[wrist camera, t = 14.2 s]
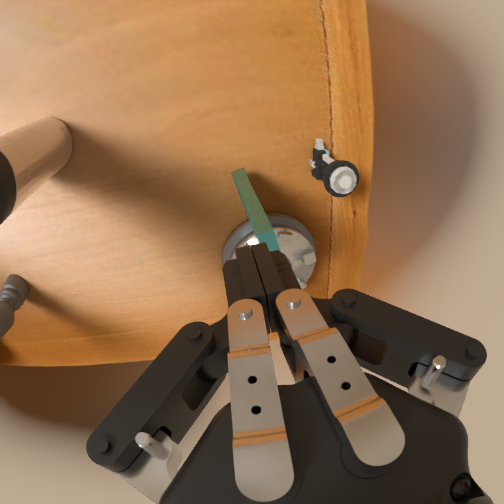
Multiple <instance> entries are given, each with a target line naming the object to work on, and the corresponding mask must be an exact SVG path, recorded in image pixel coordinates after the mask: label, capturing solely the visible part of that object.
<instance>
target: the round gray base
mask: <svg viewBox="0 0 504 504" xmlns="http://www.w3.org/2000/svg"><path fill="white" fill-rule="evenodd" d="M266 215H267V217H268V219H269V221H270V224H271V225H273V224H281V225H287V226H291V227H293V228H295V229H297V230H299V231H300V232H302V233H303V234H304V235H305V237H306V238H307V239H308V241H309V242H310V244H311V246H312V248H313V250H314V253H315V257H316V246H315V242H314V239H313V237H312V235H311V234H310V232H309V231H308V229H307V228H306V226H305V225H304V224H303V223H302V222H300V221H299V220H298V219H296V218H294V217H292V216H290V215H287V214H283V213H266ZM251 231H253V228H252V226H251V223H250V220H249V219H248V220H246V221H244V222H243V223H241V224H240V225H239V226H238V227H236V228H235V229H234V230H233V232H232V233H231V234H230V235H229V237H228V238H227V240H226V242H225V245H224V248H223V253H222V261H223V266H224V264H225V261H227V260H230V256H231V253H232V251H233V249H234V247H235V246H236V244H237V243H238V242H239V241H240V240H241V239H242V238H243V237H244V236H245V235H246V234H248V233H249V232H251Z"/></svg>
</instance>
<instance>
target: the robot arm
mask: <svg viewBox="0 0 504 504" xmlns="http://www.w3.org/2000/svg"><path fill="white" fill-rule="evenodd" d="M72 148H73V141H72V136H71V133H70V131H69V129H68V127H67V126H66V125H65V124H64V123H63V122H62V121H60V120H59V119H56V118H45V119H42V120H39V121H37V122H34V123H31V124H29V125H26V126H24V127H21V128H19V129H16V130H14V131H12V132H9V133H7V134H5V135H3V136H1V137H0V224H2V223H3V222H4V220H5V219H6V218H7V217H8V216H9V215H10V214H11V213H12V212H13V211H14V210H15V209H16V208H17V207H18V206H19V205H20V204H21V203H22V202H24V201H25V200H26V199H27V198H28V197H29V196H30V195H31V194H32V193H33V192H34V191H36V190H37V189H38V188H39V187H40V186H41V185H42V184H44V183H45V182H46V181H47V180H48V179H49V178H51V177H52V176H53V175H54V174H56V173H57V172H58V171H59V170H61V169H62V168H63V167H64V166H65V165H66V164H67V162H68V161H69V159H70V156H71V153H72ZM250 247H251V248H250ZM234 249H235V254H236V259H232V260H227V261H225V264H224V266H223V268H222V269H223V275H224V281H225V288H226V294H227V299H228V306H229V308H228V312H227V314H226V315H225V317H224V318H222V319H221V320H220V321H218V322H216V323H214V324H212V325H210V326H209V325H208V324H206V323H204V322H192V323H189V324H187V325H185V326H184V327H182V328H181V329H180V331H179V332H178V333H177V334H176V335H175V336H174V338H173V339H172V340H171V341H170V342H169V343H168V345H167V346H166V347H165V348H164V349H163V350H162V352H161V353H160V354H159V355H158V356H157V358H156V359H155V360H154V361H153V362H152V363H151V365H150V366H149V367H148V368H147V369H146V371H145V372H144V373H143V374H142V375H141V376H140V378H139V379H138V380H137V381H136V382H135V384H134V385H133V386H132V387H131V388H130V389H129V391H128V392H127V393H126V394H125V395H124V396H123V398H122V399H121V400H120V401H119V403H117V405H116V406H115V407H114V408H113V409H112V411H111V412H110V413H109V414H108V415H107V417H106V418H105V419H104V420H103V421H102V422H101V424H100V425H99V426H98V427H97V429H95V431H94V432H93V433H92V434H91V435H90V437H89V439H88V441H87V445H86V446H87V447H86V449H87V453H88V456H89V457H90V459H91V460H92V461H93V462H95V463H96V464H98V465H100V466H102V467H104V468H105V469H107V470H108V471H110V472H112V473H114V474H116V475H118V476H120V477H122V478H123V479H124V480H126V481H127V482H128V483H129V484H131V485H132V486H133V487H134V488H136V489H137V490H138V491H140V492H141V493H142V494H144V495H145V496H146V497H148V498H149V499H151V500H152V501H153V502H155V503H156V504H494V503H493V502H492V500H491V498H490V497H489V496H488V495H487V494H486V493H485V492H484V491H483V490H482V489H481V488H480V487H479V486H478V485H477V484H476V482H475V481H474V480H473V478H472V477H471V475H470V472H469V466H468V436H467V432H466V429H465V427H464V425H463V423H462V422H461V421H460V420H459V419H458V417H459V414H460V411H461V408H462V405H463V402H464V400H465V397H466V393H467V390H468V387H469V384H470V381H471V380H472V378H473V377H474V376H475V375H476V373H477V372H478V371H479V369H480V368H481V367H482V365H483V364H484V363H485V361H486V358H487V353H486V349H485V347H484V346H483V345H482V343H481V342H479V341H478V340H476V339H474V338H471V337H469V336H467V335H464V334H462V333H459V332H457V331H455V330H452V329H450V328H447V327H445V326H442V325H440V324H437V323H435V322H432V321H430V320H428V319H425V318H423V317H420V316H418V315H415V314H413V313H410V312H408V311H406V310H403V309H401V308H398V307H396V306H393V305H391V304H389V303H386V302H383V301H381V300H379V299H376V298H374V297H371V296H369V295H366V294H364V293H361V292H359V291H357V290H354V289H342V290H339V291H337V292H336V293H335V294H334V295H333V296H332V299H317V298H313V297H310V296H309V294H308V293H307V292H305V291H303V290H302V289H301V286H300V284H299V282H298V280H297V278H296V276H295V274H294V272H293V270H292V267H291V265H290V263H289V261H288V259H287V257H286V255H285V254H283V253H282V252H281V251H279V250H276V251H271V252H270V251H269V249H268V246H267V244H266V242H263V243H258V244H253V245H250V246H249V245H248V246H243V247H238V248H234ZM269 325H270V327H269ZM270 329H271V332H272V333H273V332H278V335H279V340H280V347H281V349H282V351H283V354H284V356H285V358H286V361H287V363H288V366H289V368H290V370H291V373H292V375H293V377H294V380H295V384H293V385H277V381H276V376H275V371H274V365H273V360H272V354H271V349H270V346H269V338H268V334H269V333H270ZM360 330H361V331H360ZM369 334H370V335H369ZM371 335H372V336H371ZM378 338H379V339H378ZM380 339H381V340H380ZM360 366H361V367H363V368H365V369H368V370H370V371H372V372H374V373H376V374H378V375H380V376H382V377H384V378H386V379H389V380H391V381H393V382H395V383H397V384H399V385H402V386H404V387H406V388H408V393H407V392H405V391H403V390H401V389H399V388H397V387H395V386H393V385H392V384H389V383H387V382H386V381H384V380H382V379H380V378H378V377H376V376H374V375H371V374H369V373H365V372H363V370H362V369H361V367H360ZM228 372H229V387H230V401H231V402H230V403H228V404H227V405H225V406H224V407H223V408H222V409H221V410H220V411H219V412H218V413H217V414H216V415H215V416H214V418H213V419H212V421H211V422H210V424H209V426H208V427H207V429H206V430H205V432H204V433H203V435H202V436H201V438H200V440H199V441H198V443H197V444H196V446H195V447H194V449H193V450H192V452H191V453H190V455H189V456H188V458H187V460H186V461H185V462H184V464H183V465H182V467H181V468H180V470H179V471H178V467H179V464H180V463H181V460H182V451H181V448H180V446H179V445H178V444H179V443H180V441H181V440H182V438H183V437H184V436H185V434H186V433H187V431H188V430H189V429H190V427H191V426H192V425H193V423H194V422H195V420H196V419H197V418H198V416H199V415H200V413H201V412H202V411H203V409H204V408H205V406H206V405H207V404H208V402H209V401H210V399H211V398H212V396H213V395H214V393H215V392H216V391H217V389H218V388H219V386H220V385H221V383H222V382H223V380H224V379H225V377H226V373H228ZM177 471H178V473H177Z"/></svg>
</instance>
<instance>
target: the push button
mask: <svg viewBox="0 0 504 504" xmlns="http://www.w3.org/2000/svg"><path fill="white" fill-rule="evenodd" d="M317 141H318V143H317ZM321 142H322V143H321ZM311 162H312V164H311ZM310 165H311V166H312V167H313V168H314V170H312V176H314V177H315V178H316V179H317V180H320V179H323V182H324V186H325V188H326V190H327V191H328V192H329V193H330V194H331V195H333V196H335V197H344V196H347V195H349V194H350V193H352V192H353V191H354V189H355V188H356V186H357V184H358V181H359V173H358V170H357V168H356V167H355V166H354V165H353V164H352V163H350V162H348V161H339V160H334V159H332V158H331V157H329V151H328V150H326V149H325V148H324V146H323V140H320V138H318V139H316V145H315V148H313V161H312V160H311V159H310ZM344 165H346V166H348V167H345V166H344ZM329 184H330V185H331V187H332V189H331V188H330V186H329Z"/></svg>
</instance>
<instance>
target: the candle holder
mask: <svg viewBox="0 0 504 504" xmlns="http://www.w3.org/2000/svg"><path fill="white" fill-rule="evenodd" d="M28 294H29V287H28V285H27V283H26V281H25V280H24V279H23V278H22V277H20V276H18V275H15V274H12V275H10V276H9V277H8V278H7V280H6V281H5V283H4V285H3V286H2V290H1V292H0V340H1V339H2V337H3V336H4V335H5V334H6V332H7V331H8V330H9V329H10V328H11V326H12V325H13V323H14V312H15V311H16V310H18V309H19V308H20V307H21V306H22V305H23V303H24V301H25V299H26V298H27V296H28Z"/></svg>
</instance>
